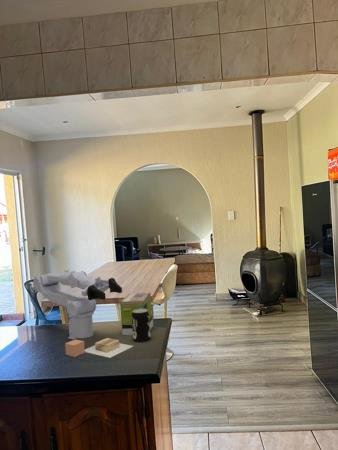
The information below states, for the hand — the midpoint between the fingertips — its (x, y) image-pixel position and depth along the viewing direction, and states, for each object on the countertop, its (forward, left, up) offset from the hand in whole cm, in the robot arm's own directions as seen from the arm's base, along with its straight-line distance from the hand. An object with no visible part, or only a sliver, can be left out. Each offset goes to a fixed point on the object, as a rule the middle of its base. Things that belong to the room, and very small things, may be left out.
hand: (113, 293), depth 133 cm
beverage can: (+5, +8, -20) cm, 22 cm away
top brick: (-7, -13, -20) cm, 25 cm away
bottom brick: (0, -5, -19) cm, 19 cm away
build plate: (0, -5, -20) cm, 20 cm away
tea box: (-5, +18, -20) cm, 27 cm away
